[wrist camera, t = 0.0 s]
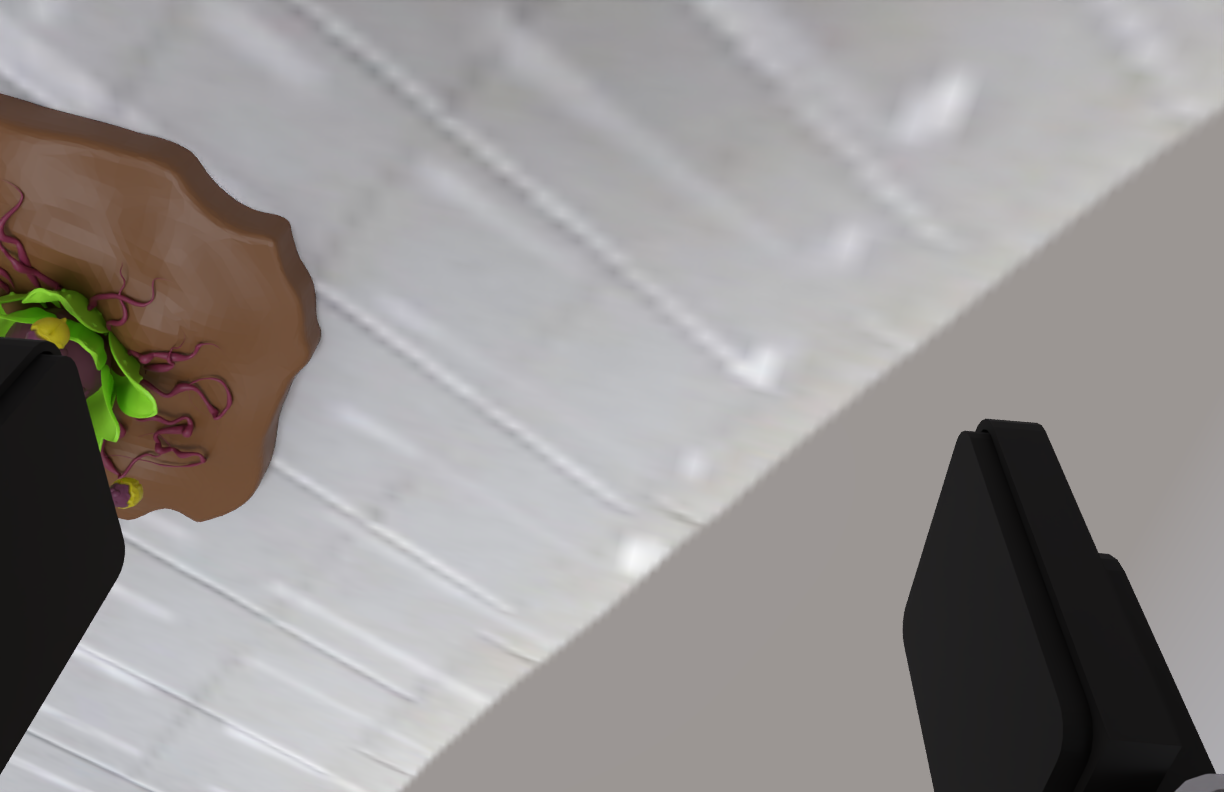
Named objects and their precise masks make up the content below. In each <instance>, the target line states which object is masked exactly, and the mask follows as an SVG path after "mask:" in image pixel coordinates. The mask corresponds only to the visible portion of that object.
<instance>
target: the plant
mask: <svg viewBox="0 0 1224 792" xmlns="http://www.w3.org/2000/svg"><path fill="white" fill-rule="evenodd" d="M0 337H9V338H21V339H34V340H46V341H50V342H52V343H54V344H55V345H56V346H57V347H58V348H59V349H60V352H61V354H62V356H68V357H70V358H72V359H73V361H74V362H75V364H76V366H77V369H78V372H79V376H80V380H81V383H82V387H83V391H84V394H85V398H86V402H87V405H88V409H89V413H90V417H91V420H92V424H93V428H94V431H95V435H96V439H97V442H98V446H99V450H100V453H101V457H102V461H103V465H104V468H105V472H106V476H107V479H108V483H109V487H110V490H111V494H112V498H113V502H114V505H115V509H116V513H117V516H118V518H121V519H125V520H131V519H136V518H138V517H140V516H143V515H145V514H147V513H149V512H152V511H155V510H158V509H164V508H166V509H172V510H175V511H178V512H180V513H182V514H184V515H185V516H187V517H189V518H190V519H192V520H194V521H196V522H202V521H206V520H210V519H213V518H216V517H219V516H223V515H225V514H227V513H229V512H231V511H233V510H235V509H237V508H238V507H240V506H242V505H243V504H244V503H245V502H247V501H248V500H249V499H250V498H251V496H252V495H253V494H254V492H255V491H256V489H257V488H258V486H259V484H260V482H261V480H262V478H263V476H264V474H265V472H266V470H267V468H268V466H269V463H270V461H271V458H272V455H273V451H274V447H275V442H276V435H277V427H278V419H279V415H280V411H281V408H282V405H283V403H284V400H285V398H286V396H287V393H288V391H289V388H290V386H291V384H292V381H293V379H294V377H295V376H296V374H297V373H298V372H299V371H300V370H301V369H302V368H303V367H304V366H305V365H306V364H307V363H308V362H309V360H310V359H311V357H312V355H313V353H314V351H315V349H316V347H317V345H318V343H319V340H320V337H321V330H320V327H319V324H318V321H317V317H316V296H315V290H314V284H313V281H312V278H311V276H310V274H309V272H308V270H307V269H306V267H305V266H304V264H303V262H302V261H301V259H300V257H299V255H298V252H297V250H296V246H295V243H294V239H293V236H292V231H291V226H290V223H289V222H288V220H286V219H285V218H283V217H281V216H278V215H274V214H269V213H264V212H260V211H256V210H254V209H251V208H249V207H247V206H245V205H243V204H241V203H239V202H238V201H236V200H235V199H234V198H232V197H231V196H230V195H228V194H227V193H226V192H225V191H224V190H223V189H221V188H220V187H219V186H218V185H217V184H216V183H215V182H214V181H213V179H212V178H211V177H210V176H209V174H208V173H207V172H206V170H205V169H204V167H203V166H202V165H201V163H200V162H199V160H198V159H197V158H196V156H195V155H194V154H193V153H192V152H190V151H189V150H187V149H186V148H184V147H182V146H180V145H178V144H176V143H173V142H171V141H168V140H165V139H162V138H158V137H154V136H150V135H145V134H141V133H137V132H134V131H131V130H127V129H124V128H121V127H118V126H114V125H111V124H107V123H103V122H100V121H96V120H92V119H88V118H84V117H80V116H76V115H72V114H68V113H65V112H61V111H57V110H53V109H50V108H46V107H42V106H39V105H36V104H33V103H30V102H27V101H24V100H21V99H18V98H14V97H11V96H7V95H3V94H0Z"/></svg>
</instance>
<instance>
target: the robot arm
mask: <svg viewBox="0 0 1224 792" xmlns="http://www.w3.org/2000/svg"><path fill="white" fill-rule="evenodd" d="M124 556H125V544H124V539H123V535H122V531H121V527H120V524H119V520H118V516H117V513H116V509H115V505H114V502H113V498H112V494H111V490H110V487H109V483H108V479H107V476H106V472H105V468H104V465H103V461H102V457H101V453H100V450H99V446H98V442H97V439H96V435H95V431H94V428H93V424H92V420H91V417H90V413H89V409H88V405H87V402H86V398H85V394H84V391H83V387H82V383H81V380H80V376H79V372H78V369H77V366H76V364H75V362H74V361H73V359H72V358H70V357H68V356H62V354H61V352H60V349H59V348H58V347H57V346H56V345H55V344H54V343H52V342H50V341H46V340H34V339H21V338H9V337H0V774H1V772H2V771H3V769H4V767H5V766H6V764H7V762H8V761H9V759H10V757H11V756H12V754H13V752H14V751H15V749H16V747H17V746H18V744H19V742H20V741H21V739H22V737H23V736H24V734H25V732H26V731H27V729H28V727H29V726H30V724H31V722H32V721H33V719H34V717H35V716H36V714H37V712H38V710H39V709H40V707H41V705H42V704H43V702H44V700H45V699H46V697H47V695H48V694H49V692H50V690H51V689H52V687H53V685H54V684H55V682H56V680H57V679H58V677H59V675H60V674H61V672H62V670H63V669H64V667H65V665H66V664H67V662H68V660H69V659H70V657H71V655H72V654H73V652H74V650H75V649H76V647H77V645H78V643H79V642H80V640H81V638H82V637H83V635H84V633H85V632H86V630H87V628H88V627H89V625H90V623H91V622H92V620H93V618H94V617H95V615H96V613H97V612H98V610H99V608H100V607H101V605H102V603H103V602H104V600H105V598H106V597H107V595H108V593H109V592H110V590H111V588H112V587H113V585H114V583H115V581H116V580H117V578H118V576H119V574H120V572H121V569H122V566H123V563H124ZM903 640H904V647H905V652H906V656H907V661H908V666H909V671H910V676H911V681H912V686H913V691H914V695H915V700H916V705H917V710H918V715H919V719H920V725H921V729H922V734H923V739H924V744H925V749H926V753H927V758H928V763H929V768H930V773H931V778H932V783H933V787H934V792H1224V774H1216V772H1215V770H1214V768H1213V766H1212V764H1211V761H1210V759H1209V757H1208V754H1207V752H1206V750H1205V748H1204V746H1203V743H1202V741H1201V739H1200V737H1199V735H1198V732H1197V730H1196V728H1195V726H1194V724H1193V722H1192V719H1191V717H1190V715H1189V713H1188V710H1187V708H1186V706H1185V704H1184V702H1183V699H1182V697H1181V695H1180V693H1179V690H1178V688H1177V686H1176V684H1175V682H1174V679H1173V677H1172V675H1171V673H1170V671H1169V668H1168V666H1167V664H1166V662H1165V659H1164V657H1163V655H1162V653H1161V651H1160V648H1159V646H1158V644H1157V642H1156V640H1155V637H1154V635H1153V633H1152V631H1151V629H1150V626H1149V624H1148V622H1147V620H1146V618H1145V615H1144V613H1143V611H1142V609H1141V606H1140V605H1139V602H1138V600H1137V598H1136V595H1135V594H1134V591H1133V589H1132V587H1131V585H1130V582H1129V580H1128V578H1127V576H1126V573H1125V571H1124V570H1123V568H1122V567H1121V565H1120V563H1119V562H1118V560H1117V559H1115V558H1114V557H1113V556H1111V555H1109V554H1102V553H1098V551H1097V549H1096V546H1095V544H1094V542H1093V540H1092V537H1091V535H1090V533H1089V530H1088V528H1087V526H1086V524H1085V521H1084V519H1083V517H1082V514H1081V512H1080V510H1079V507H1078V505H1077V503H1076V500H1075V498H1074V496H1073V494H1072V491H1071V489H1070V486H1069V484H1068V482H1067V480H1066V477H1065V475H1064V473H1063V470H1062V468H1061V466H1060V463H1059V461H1058V459H1057V456H1056V454H1055V452H1054V450H1053V447H1052V445H1051V443H1050V441H1049V438H1048V436H1047V434H1046V431H1045V430H1044V428H1043V427H1042V425H1040V424H1038V423H1031V422H1019V421H1018V422H1017V421H1006V420H995V419H985V420H982V421H981V422H980V424H979V425H978V427H977V429H976V431H975V432H973V431H963V432H961V434H960V435H959V437H958V439H957V442H956V445H955V448H954V451H953V454H952V458H951V461H950V464H949V467H948V471H947V474H946V477H945V480H944V484H943V487H942V491H941V493H940V497H939V500H938V503H937V506H936V510H935V513H934V517H933V519H932V523H931V526H930V529H929V532H928V536H927V539H926V542H925V545H924V549H923V552H922V555H921V558H920V562H919V565H918V568H917V572H916V575H915V578H914V581H913V585H912V588H911V591H910V594H909V597H908V601H907V604H906V607H905V612H904V618H903Z"/></svg>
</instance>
